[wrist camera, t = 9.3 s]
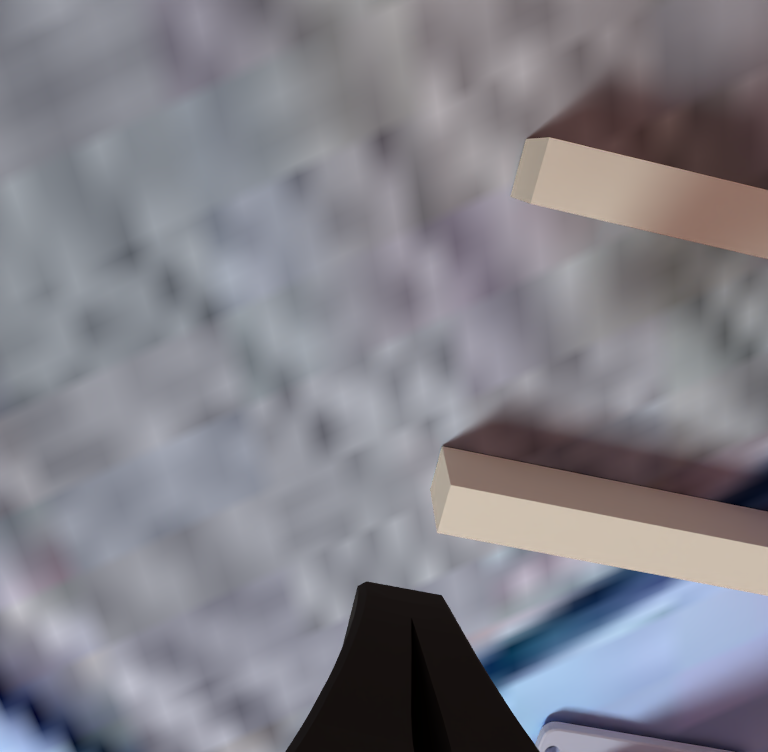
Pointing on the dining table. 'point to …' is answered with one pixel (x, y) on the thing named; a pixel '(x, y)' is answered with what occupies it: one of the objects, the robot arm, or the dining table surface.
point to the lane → (597, 495)
